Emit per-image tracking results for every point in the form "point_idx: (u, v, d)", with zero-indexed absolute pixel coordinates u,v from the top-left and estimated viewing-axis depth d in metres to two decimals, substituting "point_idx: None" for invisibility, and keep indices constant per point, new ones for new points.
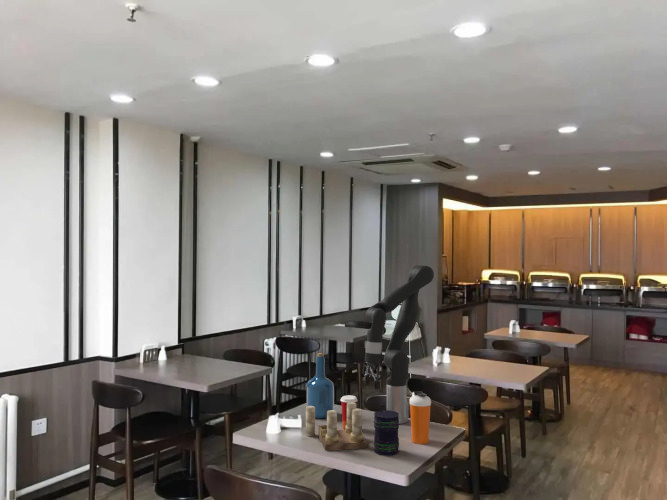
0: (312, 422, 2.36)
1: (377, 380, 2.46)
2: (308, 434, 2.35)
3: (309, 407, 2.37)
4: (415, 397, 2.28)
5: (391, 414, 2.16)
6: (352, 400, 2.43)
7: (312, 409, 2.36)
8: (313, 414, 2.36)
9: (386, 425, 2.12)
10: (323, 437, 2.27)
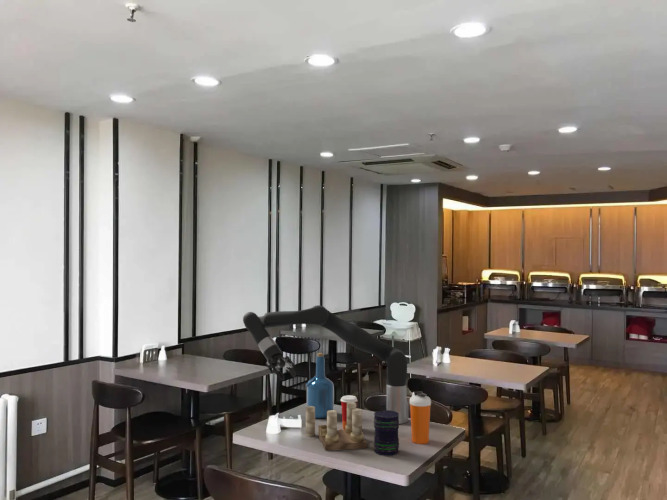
0: (312, 422, 2.36)
1: None
2: (308, 434, 2.35)
3: (309, 407, 2.37)
4: (415, 397, 2.28)
5: (391, 414, 2.16)
6: (352, 400, 2.43)
7: (312, 409, 2.36)
8: (313, 414, 2.36)
9: (386, 425, 2.12)
10: (323, 437, 2.27)
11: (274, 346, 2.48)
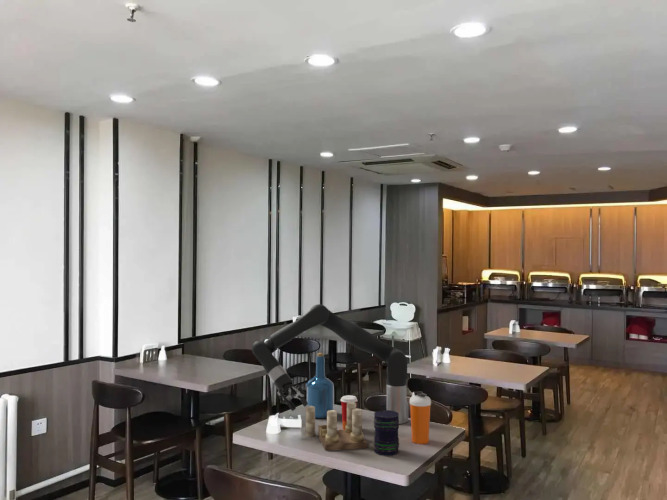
0: (312, 422, 2.36)
1: (285, 403, 2.38)
2: (308, 434, 2.35)
3: (309, 407, 2.37)
4: (415, 397, 2.28)
5: (391, 414, 2.16)
6: (352, 400, 2.43)
7: (312, 409, 2.36)
8: (313, 414, 2.36)
9: (386, 425, 2.12)
10: (323, 437, 2.27)
11: (284, 375, 2.45)
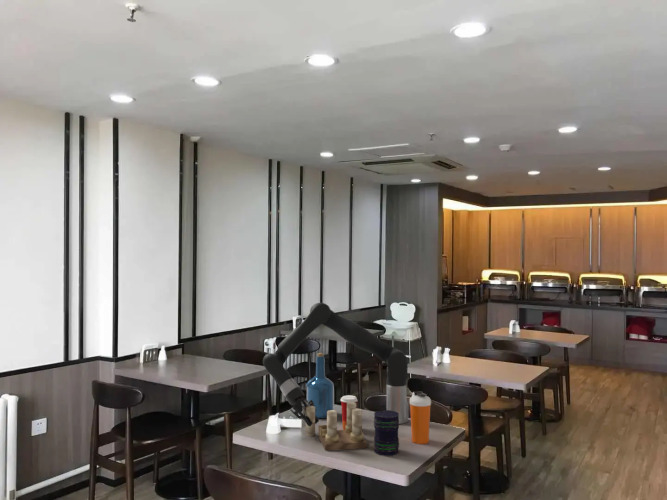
0: (312, 422, 2.36)
1: (301, 418, 2.35)
2: (308, 434, 2.35)
3: (309, 407, 2.37)
4: (415, 397, 2.28)
5: (391, 414, 2.16)
6: (352, 400, 2.43)
7: (312, 409, 2.36)
8: (313, 414, 2.36)
9: (386, 425, 2.12)
10: (323, 437, 2.27)
11: (296, 389, 2.41)
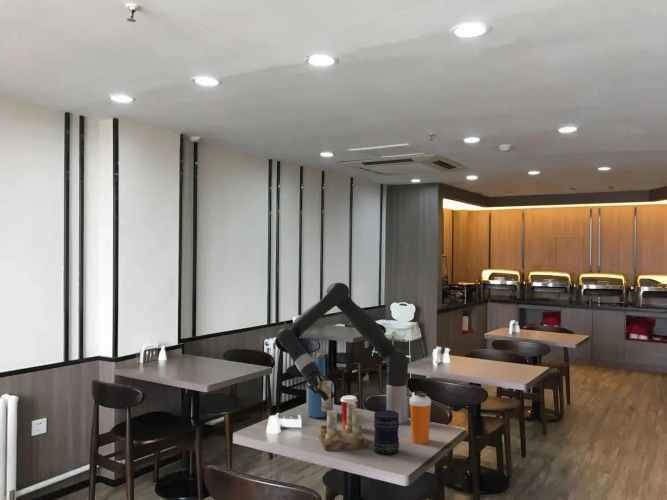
0: None
1: None
2: (324, 409, 2.31)
3: (325, 381, 2.33)
4: (415, 397, 2.28)
5: (391, 414, 2.16)
6: (352, 400, 2.43)
7: (328, 383, 2.31)
8: (329, 388, 2.32)
9: (386, 425, 2.12)
10: (323, 437, 2.27)
11: (312, 363, 2.36)
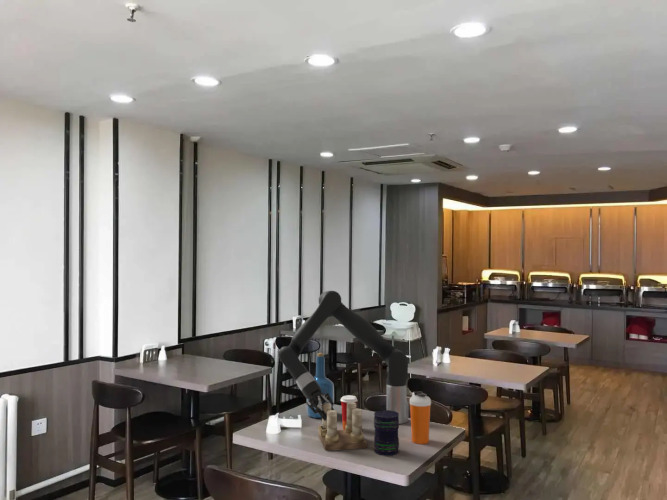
0: None
1: (317, 412, 2.29)
2: None
3: (325, 404, 2.32)
4: (415, 397, 2.28)
5: (391, 414, 2.16)
6: (352, 400, 2.43)
7: (328, 406, 2.31)
8: None
9: (386, 425, 2.12)
10: (323, 437, 2.27)
11: (313, 382, 2.36)
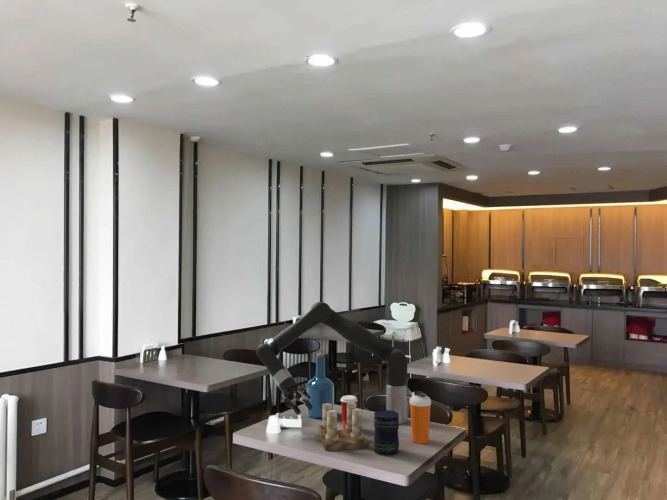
0: None
1: None
2: None
3: (326, 404, 2.32)
4: (415, 397, 2.28)
5: (391, 414, 2.16)
6: (352, 400, 2.43)
7: (329, 406, 2.31)
8: None
9: (386, 425, 2.12)
10: (323, 437, 2.27)
11: (289, 378, 2.43)
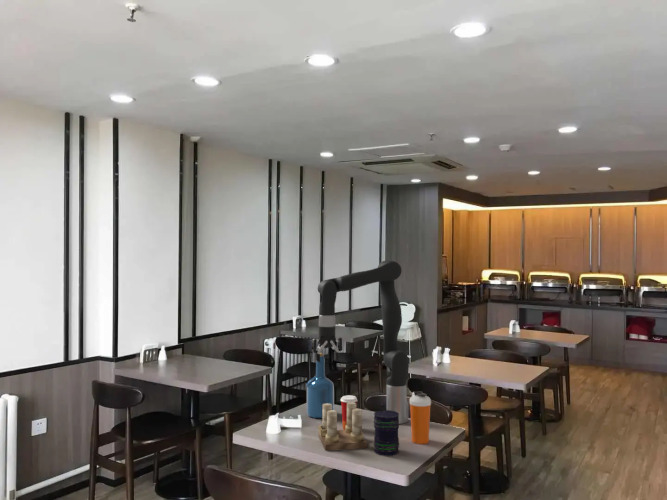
0: None
1: (314, 352, 2.45)
2: None
3: (326, 405, 2.32)
4: (415, 397, 2.28)
5: (391, 414, 2.16)
6: (352, 400, 2.43)
7: (329, 407, 2.31)
8: None
9: (386, 425, 2.12)
10: (323, 437, 2.27)
11: (328, 328, 2.43)
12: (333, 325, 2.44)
